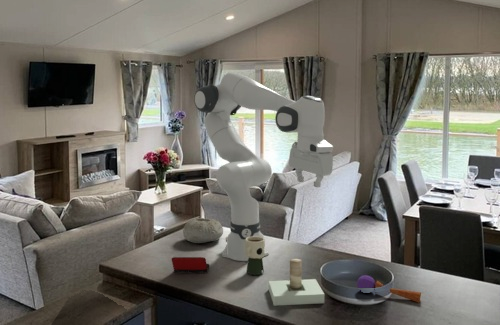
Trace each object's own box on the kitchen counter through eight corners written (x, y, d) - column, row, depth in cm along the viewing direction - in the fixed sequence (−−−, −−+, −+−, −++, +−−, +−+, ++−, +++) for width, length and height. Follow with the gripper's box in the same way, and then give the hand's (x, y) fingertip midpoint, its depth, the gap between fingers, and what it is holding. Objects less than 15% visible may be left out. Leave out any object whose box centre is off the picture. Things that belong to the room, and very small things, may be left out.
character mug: (256, 280, 167) (255, 244, 165) (239, 276, 171) (238, 241, 169) (270, 270, 176) (270, 236, 174) (254, 266, 180) (254, 233, 178)
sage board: (268, 289, 159) (268, 281, 159) (315, 287, 161) (315, 279, 160) (273, 305, 147) (273, 296, 147) (324, 303, 149) (324, 294, 148)
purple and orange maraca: (420, 294, 146) (355, 279, 154) (417, 311, 148) (354, 294, 156) (422, 284, 151) (359, 270, 159) (420, 300, 153) (358, 285, 161)
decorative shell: (208, 232, 224) (208, 212, 222) (231, 241, 210) (231, 219, 209) (175, 240, 212) (175, 218, 211) (198, 250, 199) (197, 227, 197)
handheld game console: (210, 266, 181) (209, 247, 180) (206, 277, 171) (205, 257, 170) (177, 265, 182) (177, 247, 181) (171, 276, 171) (171, 257, 170)
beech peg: (288, 293, 156) (288, 258, 154) (300, 293, 156) (300, 258, 154) (290, 299, 152) (290, 263, 150) (302, 298, 152) (303, 262, 150)
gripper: (285, 141, 168) (284, 179, 170) (321, 148, 150) (319, 190, 153) (299, 140, 171) (298, 178, 173) (336, 147, 154) (334, 189, 156)
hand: (308, 184), depth 163 cm, fingers open, 8 cm apart
